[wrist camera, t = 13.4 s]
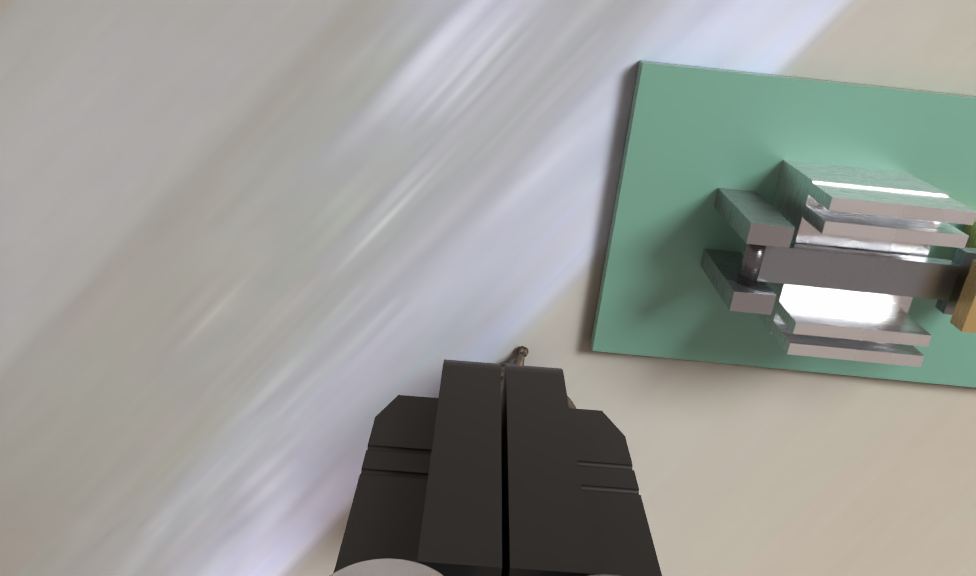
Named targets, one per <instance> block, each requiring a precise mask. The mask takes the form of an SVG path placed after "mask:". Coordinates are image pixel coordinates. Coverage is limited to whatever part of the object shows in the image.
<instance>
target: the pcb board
mask: <svg viewBox="0 0 976 576" xmlns="http://www.w3.org/2000/svg"><path fill="white" fill-rule="evenodd" d="M783 160H792V161H801V162H811V163H821V164H830V165H840V166H850V167H859V168H869V169H878V170H888V171H898V172H907V173H909V174H911V175H913V176H915V177H917V178H919V179H921V180H923V181H924V182H926V183H928V184H930V185H932V186H934V187H936V188H938V189H940V190H941V191H943V192H945V193H947V194H949V196H948V197H950V198H952V199H954V200H956V201H958V202H959V203H961V204H963V205H965V206H967V207H969V208H971V209H973V210H974V211H976V96H968V95H959V94H950V93H940V92H931V91H922V90H912V89H903V88H893V87H884V86H875V85H865V84H856V83H847V82H837V81H828V80H819V79H809V78H800V77H790V76H781V75H772V74H762V73H753V72H744V71H734V70H725V69H716V68H706V67H697V66H687V65H678V64H669V63H659V62H650V61H641V60H640V61H639V66H638V72H637V78H636V84H635V89H634V95H633V101H632V107H631V113H630V118H629V124H628V130H627V136H626V141H625V147H624V153H623V159H622V165H621V170H620V176H619V182H618V188H617V193H616V199H615V205H614V211H613V216H612V222H611V228H610V234H609V240H608V245H607V251H606V257H605V263H604V268H603V274H602V280H601V286H600V292H599V297H598V303H597V309H596V315H595V320H594V326H593V332H592V338H591V346H592V351H599V352H609V353H620V354H630V355H641V356H651V357H662V358H672V359H682V360H693V361H703V362H714V363H724V364H735V365H745V366H755V367H766V368H776V369H787V370H797V371H808V372H818V373H828V374H839V375H849V376H860V377H870V378H881V379H891V380H901V381H912V382H922V383H933V384H943V385H954V386H964V387H974V388H976V333H969V332H961V331H960V330H959V329H957V328H956V327H955V326H954V325H953V324H951V323H950V321H951V318H952V315H949V314H943V313H942V312H941V311H939V310H938V309H937V308H936V307H935V306H936V303H937V300H936V299H926V298H916V297H913V299H912V302H911V305H910V307H909V310H908V313H907V314H908V315H909V316H910V317H911V318H912V319H914V320H915V321H916V322H917V323H918V324H919V325H920V326H922V327H923V328H924V329H925V330H926V331H927V332H928V333H930V334H931V335H932V337H931V340H930V343H929V345H928V347H924V346H914V347H915V348H916V349H917V350H918V351H920V352H921V353H922V354H923V355H924V359H923V362H922V364H921V367H913V366H903V365H893V364H882V363H872V362H862V361H851V360H841V359H831V358H820V357H810V356H799V355H789V354H786V352H785V351H784V349H783V348H782V347H781V345H780V344H779V343H778V341H777V340H776V338H775V337H774V336H773V334H770V333H769V331H768V330H767V328H766V327H765V326H764V324H763V323H762V321H761V320H760V319H759V317H758V316H757V314H756V313H747V312H737V311H729V309H728V308H727V306H726V305H725V303H724V301H723V300H722V298H721V297H720V295H719V294H718V292H717V291H716V289H715V288H714V286H713V285H712V283H711V282H710V280H709V278H708V277H707V275H706V274H705V272H704V271H703V269H702V268H701V266H700V264H701V260H702V255H703V251H704V249H714V250H724V251H734V252H741V253H742V254H743V253H744V249H745V245H746V243H745V242H744V240H743V239H742V238H741V237H740V236H739V235H738V234H737V232H736V231H735V230H734V229H733V228H732V227H731V225H730V224H729V223H728V222H727V221H726V220H725V218H724V217H723V216H722V215H721V214H720V213H719V211H718V210H717V209H716V208H715V207H714V202H715V198H716V193H717V189H718V188H727V189H737V190H746V191H756V192H757V193H758V194H759V195H760V196H761V197H762V198H763V199H764V200H766V201H767V202H768V203H769V204H770V205H772V201H773V197H774V193H775V190H776V186H777V182H778V178H779V174H780V170H781V166H782V162H783ZM948 224H950V225H952V226H953V227H955V228H957V229H958V230H960V231H963V229H964V226H965V224H956V223H948ZM955 251H956V247H946V246H936V245H931V248H930V250H929V253H928V256H927V257H928V258H937V259H947V260H952V259H953V256H954V253H955Z"/></svg>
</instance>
